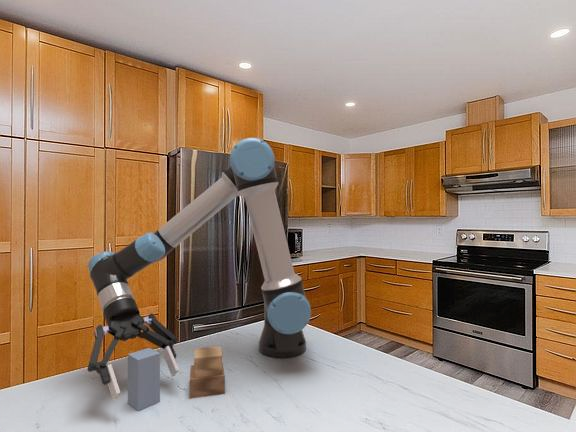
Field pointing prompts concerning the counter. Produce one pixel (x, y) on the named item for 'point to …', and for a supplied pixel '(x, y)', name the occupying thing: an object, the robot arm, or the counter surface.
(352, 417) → the counter surface
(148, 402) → the slate block
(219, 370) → the tower top
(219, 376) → the tower base
